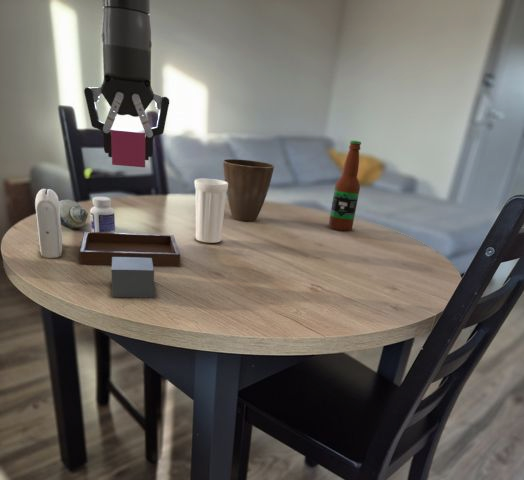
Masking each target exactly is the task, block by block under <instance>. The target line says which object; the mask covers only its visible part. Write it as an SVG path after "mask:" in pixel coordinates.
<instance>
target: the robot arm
mask: <svg viewBox="0 0 524 480" xmlns="http://www.w3.org/2000/svg"><path fill="white" fill-rule="evenodd" d="M150 4H151V3H150V0H102V19H101V20H102V21H101V41H102V42H101V43H102V69H103V70H102V71H103V74H102V75H103V81H102V84H101V86H100V87H89V86H87V87H85V88H84V89H83V93H84V98H85V100H86V102H85V103H86V107H87V110H88V117H89V119H90V124H91V127H92V128H94V129H96V130H99V131H101V132H102V134H103V135H102V136H103V151H104V153H105V154H107V155H108V158H112V142H111V129H112V127H113V125H114V122H115V120H116V118H117V115H118V116H127V115H129V117H130V116H131V117H134V118H139V120H140V123H141V125H142V128H143V130H144V131H145V161H150V158H152V157H153V155H154V147H153V146H154V138H155V137H157V136H159V135H163V134H164V132H165V127H166V122H167V116H168V111H169V107H170V99H169V98H168V97H167V96H162V95H158V94H157V93H156V94H155V93H154V91H153V88H152V45H153V43H152V27H151V18H150V17H151V16H150V13H151V12H150V8H151V7H150V6H151V5H150ZM101 94H102V96H103V97H104V99H105V100H106V102H107V103H108V105H109V110H108V114H107V116H106V118H105V121H104V122H103V121H101V120H100V117H99V113H98V108H97V104H96V103H97V102H99V100H100V96H101ZM153 101H154V102H155V107H156V109H157V110H159V111H158V116H157V121H156V126H154V127H151V124H150V122H149V119H148V117H147V114H146V110H147V109H148V107H149V106H150V104H151V103H152V102H153Z"/></svg>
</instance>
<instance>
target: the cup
mask: <svg viewBox="0 0 524 480" xmlns="http://www.w3.org/2000/svg"><path fill="white" fill-rule="evenodd" d="M193 183H194V188H195V239H196V240H197V241H199V242H203V243H208V244H210V243H213V244H215V243H219V242H221V241H222V233H223V224H224V215H225V207H226V199H227V193H226V191H227V189H228V182H226V181H225V180H222V179H217V178H207V177H206V178H205V177H203V178H202V177H201V178H195V179H194V182H193Z"/></svg>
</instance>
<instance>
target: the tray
mask: <svg viewBox="0 0 524 480" xmlns="http://www.w3.org/2000/svg"><path fill="white" fill-rule="evenodd" d="M112 257H139V258H152V262H153V267H180V266H181V253H180V250H179V247H178V245H177V241H176V238H175V235H174V234H153V233H152V234H151V233H150V234H148V233H128V232H127V233H126V232H125V233H124V232H115V233H103V232H92V231H84V233H83V237H82V241H81V245H80V249H79V260H80V262H79V263H80V265H99V266H101V265H104V266H105V265H106V266H112Z"/></svg>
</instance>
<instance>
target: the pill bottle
mask: <svg viewBox="0 0 524 480" xmlns="http://www.w3.org/2000/svg"><path fill="white" fill-rule="evenodd" d="M111 206H112V198H111V197H107V196H93V197H92V207H91V208H90V227H91V232H103V233H116V218H115V210H114V209H113V207H111Z"/></svg>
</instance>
